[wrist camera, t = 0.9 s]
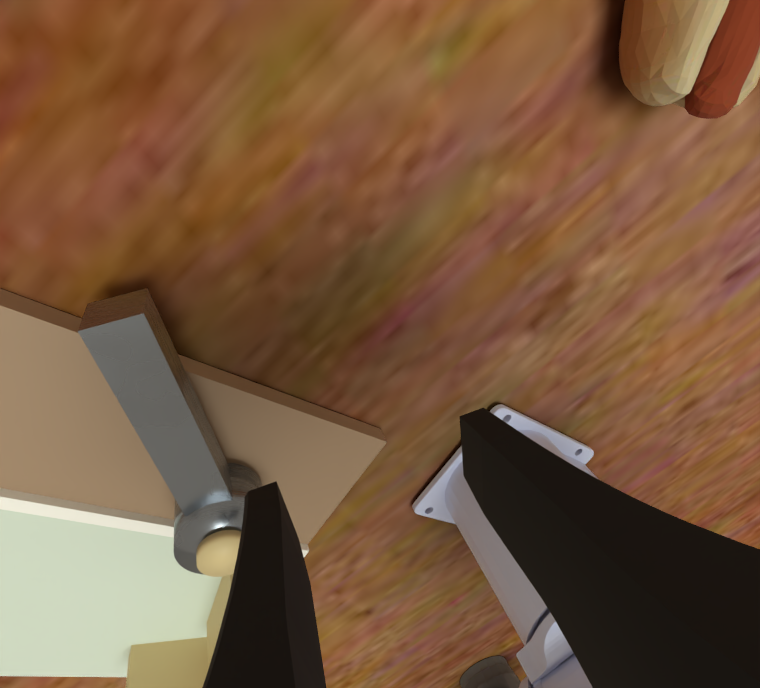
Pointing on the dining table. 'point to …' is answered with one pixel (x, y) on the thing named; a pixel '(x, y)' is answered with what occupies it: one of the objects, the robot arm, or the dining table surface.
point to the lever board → (132, 507)
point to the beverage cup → (490, 674)
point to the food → (691, 53)
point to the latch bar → (167, 418)
